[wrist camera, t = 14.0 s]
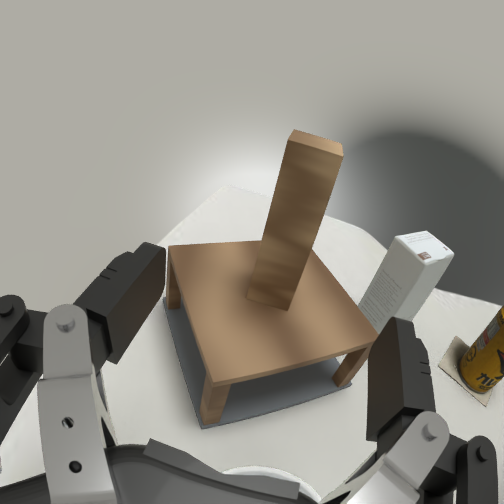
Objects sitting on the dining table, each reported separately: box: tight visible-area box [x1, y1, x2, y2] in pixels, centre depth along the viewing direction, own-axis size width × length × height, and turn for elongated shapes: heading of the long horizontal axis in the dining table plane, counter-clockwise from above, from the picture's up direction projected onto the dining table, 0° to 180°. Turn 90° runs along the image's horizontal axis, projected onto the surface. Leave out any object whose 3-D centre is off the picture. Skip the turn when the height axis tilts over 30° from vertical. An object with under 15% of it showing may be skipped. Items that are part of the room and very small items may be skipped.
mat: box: [163, 297, 352, 429], centre depth 29 cm, size 14×14×1 cm
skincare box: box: [358, 231, 454, 334], centre depth 30 cm, size 6×4×12 cm
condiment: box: [438, 306, 504, 406], centre depth 27 cm, size 7×8×12 cm
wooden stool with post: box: [166, 130, 379, 425], centre depth 24 cm, size 13×13×19 cm
